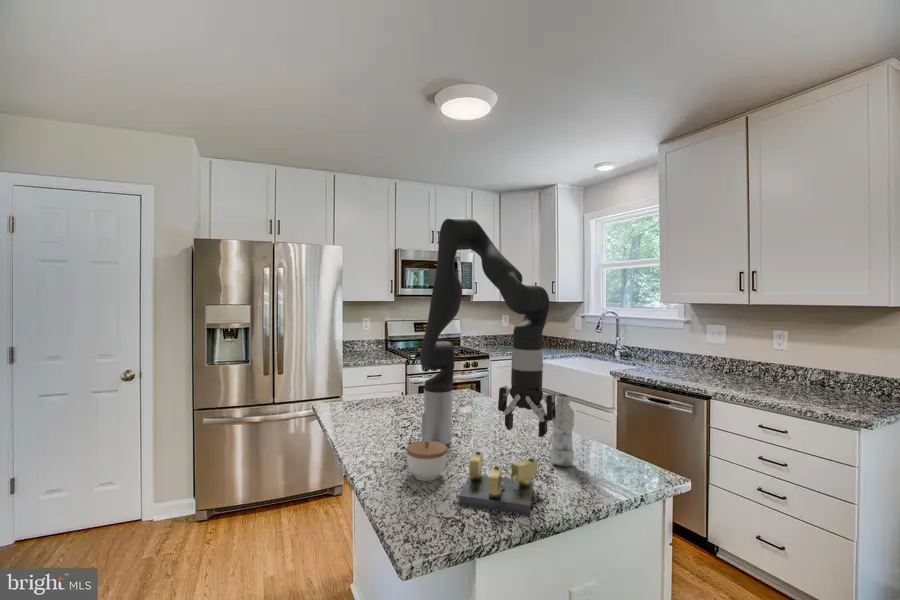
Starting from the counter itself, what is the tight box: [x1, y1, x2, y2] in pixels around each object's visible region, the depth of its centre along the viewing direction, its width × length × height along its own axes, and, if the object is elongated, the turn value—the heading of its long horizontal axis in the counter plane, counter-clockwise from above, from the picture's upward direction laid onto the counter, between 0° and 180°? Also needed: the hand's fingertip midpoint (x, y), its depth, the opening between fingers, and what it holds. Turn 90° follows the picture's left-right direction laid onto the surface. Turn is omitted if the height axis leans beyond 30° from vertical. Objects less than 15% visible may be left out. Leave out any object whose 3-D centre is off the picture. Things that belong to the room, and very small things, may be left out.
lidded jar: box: [406, 440, 448, 482], centre depth 112 cm, size 11×11×9 cm
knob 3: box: [511, 457, 538, 487], centre depth 103 cm, size 6×3×6 cm, turn 126°
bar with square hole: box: [488, 465, 503, 498], centre depth 97 cm, size 6×3×6 cm, turn 165°
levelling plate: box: [458, 474, 534, 515], centre depth 101 cm, size 16×13×3 cm
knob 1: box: [468, 451, 484, 481], centre depth 106 cm, size 6×3×6 cm, turn 165°
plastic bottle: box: [550, 393, 575, 468], centre depth 121 cm, size 6×7×20 cm
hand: (525, 432), depth 103 cm, fingers open, 8 cm apart
